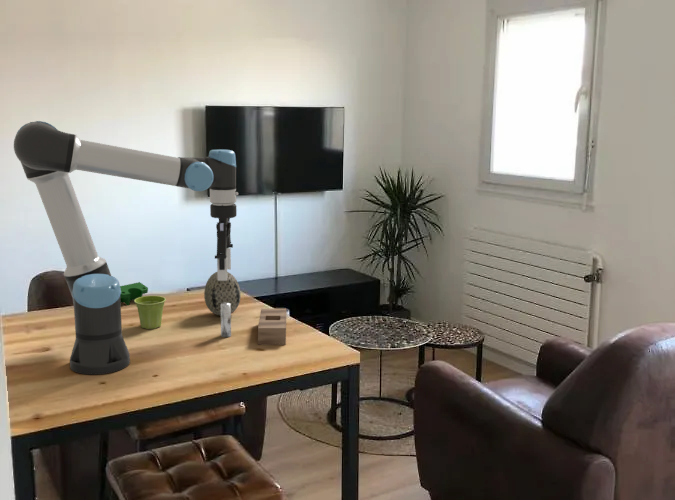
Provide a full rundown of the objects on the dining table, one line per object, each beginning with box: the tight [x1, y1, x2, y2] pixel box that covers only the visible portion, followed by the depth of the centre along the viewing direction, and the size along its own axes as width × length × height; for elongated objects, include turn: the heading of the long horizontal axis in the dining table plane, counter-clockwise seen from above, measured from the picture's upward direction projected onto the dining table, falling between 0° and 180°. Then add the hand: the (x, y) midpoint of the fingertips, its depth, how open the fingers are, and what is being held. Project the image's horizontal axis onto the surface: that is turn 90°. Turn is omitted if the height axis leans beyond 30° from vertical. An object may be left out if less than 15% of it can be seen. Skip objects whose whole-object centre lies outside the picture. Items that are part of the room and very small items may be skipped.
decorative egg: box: [203, 271, 241, 317], centre depth 237 cm, size 12×12×15 cm
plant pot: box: [133, 295, 167, 330], centre depth 225 cm, size 9×9×9 cm
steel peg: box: [220, 302, 232, 338], centre depth 217 cm, size 3×3×10 cm
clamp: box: [120, 281, 149, 306], centre depth 251 cm, size 12×6×9 cm, turn 133°
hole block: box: [257, 307, 287, 346], centre depth 221 cm, size 20×8×5 cm, turn 3°
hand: (224, 274), depth 215 cm, fingers open, 13 cm apart
